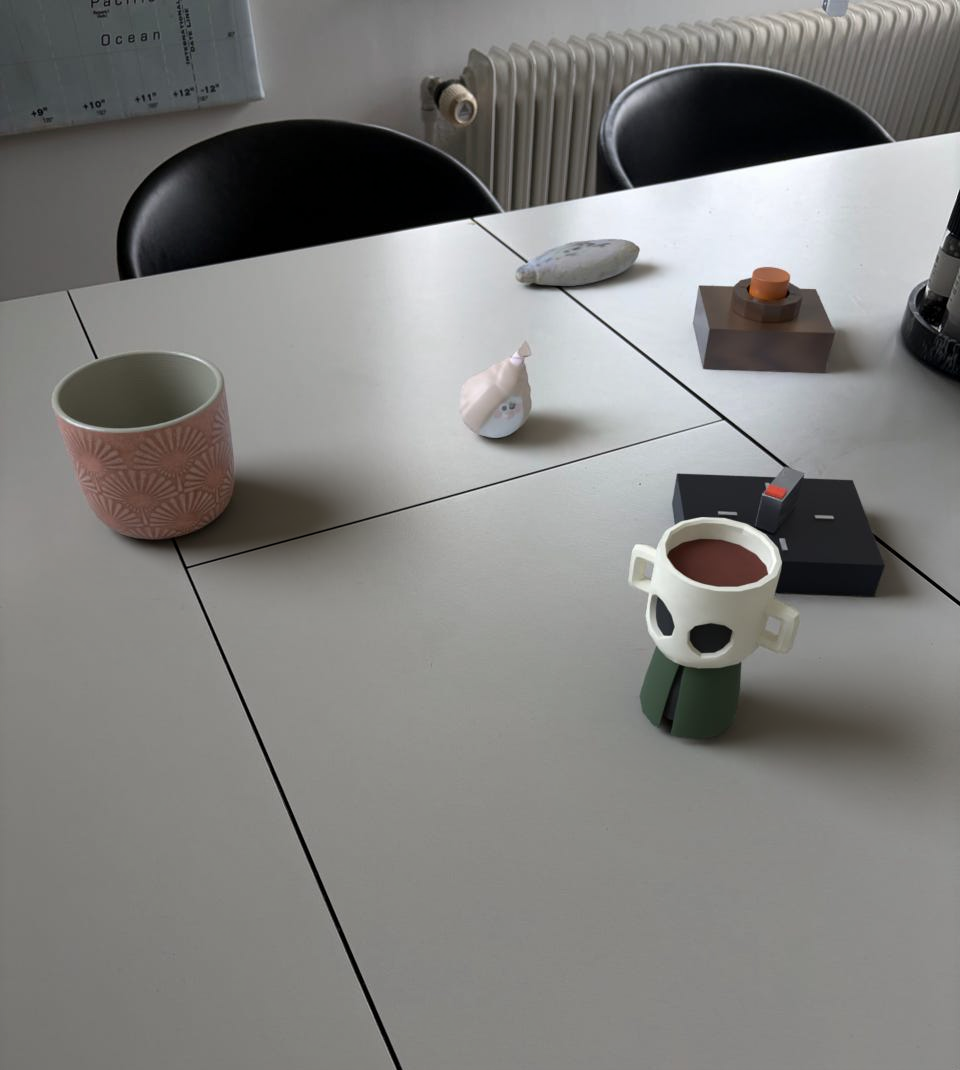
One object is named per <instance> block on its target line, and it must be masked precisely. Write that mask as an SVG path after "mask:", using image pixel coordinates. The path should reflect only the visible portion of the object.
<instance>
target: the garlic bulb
mask: <svg viewBox="0 0 960 1070" xmlns="http://www.w3.org/2000/svg"><path fill="white" fill-rule="evenodd" d="M531 356H533V354H532V351H531V348H530V346H529V343H528V342H527V339H524V341H523V342H522V343H521V344H520V345H519V347H518V349H517V350H516V352H514V354H513V355H509V356H507V357H506V358H505V359H504V360H503V361H501V362H500V361H499V362H496V363H493V364H492V365H491V366H490V367H488V368H486V369H484V370H482V371H480V372H478V373H477V374H474V375H472V376H470V377H469V378H468V379H466V381H465V382H464V384H463V386H462V387H461V389H460V392H459V399H458V400H459V401H458V402H459V404H458V405H459V406H458V407H459V408H458V409H459V414H460V417H461V420H462V422H463V424H464V425H465V426H466V427H467V428H468V429H469V430H470V431H471V432H472V433H473V434H475V435H479V436H482V437H485V438H486V437H487V438H492V439H498V438H499V439H500V438H504V437H507V436H509V435H511V434H513V433H515V431H517V430H519V429H520V428H521V427H522V426H523V425H524V424H525V423H526V421H527V420H528V418H529V416H530V413H531V410H532V404H533V403H532V397H531V393H532V390H531V385H530V383H529V374H528V370H527V365H526V363H525V358H528V357H531Z"/></svg>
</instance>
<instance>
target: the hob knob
mask: <svg viewBox="0 0 960 1070" xmlns="http://www.w3.org/2000/svg"><path fill="white" fill-rule="evenodd" d="M775 477H776V478H775V479H774V480H773V482H772V483H771V484H770V485H769V487H768V488H767V489H766V490H765V491H764V493H763V494H762V497H761V501H760V506H759V510H758V514H757V519H756V523H755V527H757V528H760V529H762V530H765V531H768V532H771V533H775V532H776V531H777V530H778V528H779V527H780V526H781V524H782V523H783V522H784V521H785V519H786V518H787V517H788V515H789V514H790V513H791V511H792V510H793V509H794V508H795V506H796V505H797V501H798V497H799V493H800V489H801V485H802V482H803V478H804V477H805V472H803V471H800V470H797V469H794V468H792V467H788V466H784V467H783V468H782V469H781V471H780V472H779V473H778V474H777V475H776V476H775Z"/></svg>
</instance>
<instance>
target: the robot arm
mask: <svg viewBox="0 0 960 1070" xmlns="http://www.w3.org/2000/svg"><path fill="white" fill-rule="evenodd" d="M849 2H850V0H821V4H820V6H821V8H822V10H823V11H824V12H825V13H826V14H827V16H829V17H831V18H832V17H837V18H838V17H839V18H841V17H844V16H845V15H846V14H847V11H848V7H849Z"/></svg>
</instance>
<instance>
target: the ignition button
mask: <svg viewBox="0 0 960 1070" xmlns="http://www.w3.org/2000/svg"><path fill="white" fill-rule="evenodd" d="M751 278H752V279H751V284H750V289H749V294H751V295H752V296H754V297H757V298H761V299H765V300H780V299H784V298H786V295H787V290H788V286H789V282H790V281H791V274H790V273H789V272H788V271H787V270H785V269H783V268H779V267H773V266H762V267H757V268H755V269H753V271H752V274H751Z"/></svg>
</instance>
